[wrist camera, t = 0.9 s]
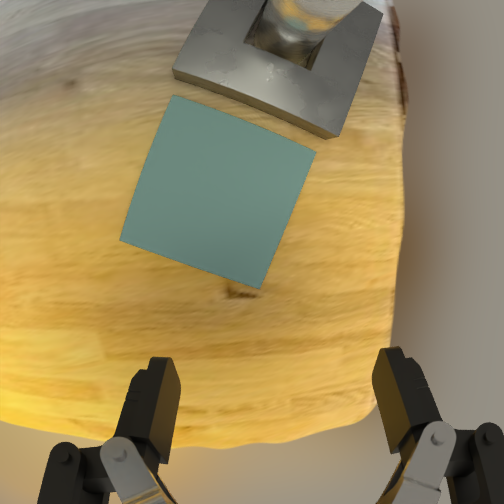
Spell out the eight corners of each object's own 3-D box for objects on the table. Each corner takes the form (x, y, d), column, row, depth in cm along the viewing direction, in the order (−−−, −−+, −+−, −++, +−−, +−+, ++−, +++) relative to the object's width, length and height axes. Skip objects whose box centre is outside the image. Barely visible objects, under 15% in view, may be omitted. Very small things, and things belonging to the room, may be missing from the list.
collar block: (175, 78, 23) (171, 68, 20) (239, -34, 21) (242, -51, 18) (325, 139, 26) (338, 136, 23) (369, 24, 24) (383, 13, 21)
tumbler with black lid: (241, 53, 23) (279, -48, 9) (264, 9, 22) (313, -95, 8) (298, 77, 25) (385, 4, 10) (318, 33, 24) (402, -50, 9)
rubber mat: (120, 239, 26) (119, 240, 26) (173, 96, 24) (172, 94, 23) (258, 287, 29) (259, 289, 28) (314, 152, 26) (316, 152, 26)
